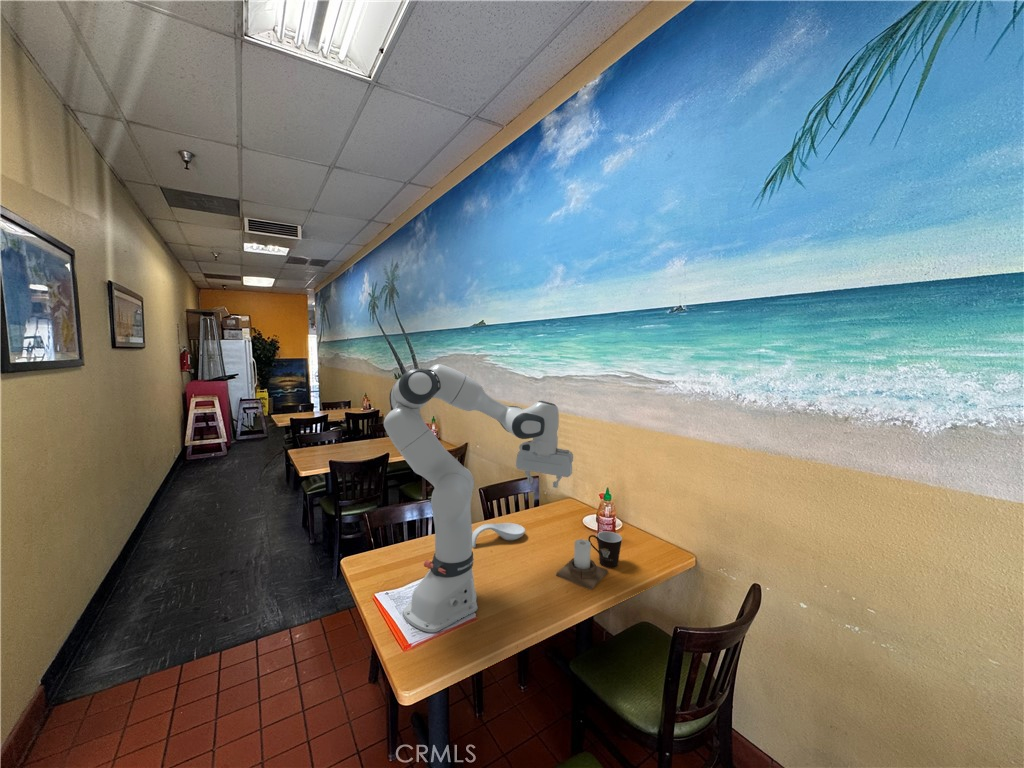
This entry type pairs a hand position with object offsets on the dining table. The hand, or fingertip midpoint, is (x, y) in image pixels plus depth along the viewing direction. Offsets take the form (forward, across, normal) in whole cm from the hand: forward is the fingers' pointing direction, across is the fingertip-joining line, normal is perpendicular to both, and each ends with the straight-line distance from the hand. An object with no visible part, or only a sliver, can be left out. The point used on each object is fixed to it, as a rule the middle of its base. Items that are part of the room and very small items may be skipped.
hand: (542, 484), depth 137 cm
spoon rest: (+30, +21, -10) cm, 38 cm away
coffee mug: (+28, -22, -11) cm, 38 cm away
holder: (+28, -16, +1) cm, 33 cm away
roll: (+27, -16, +1) cm, 32 cm away
